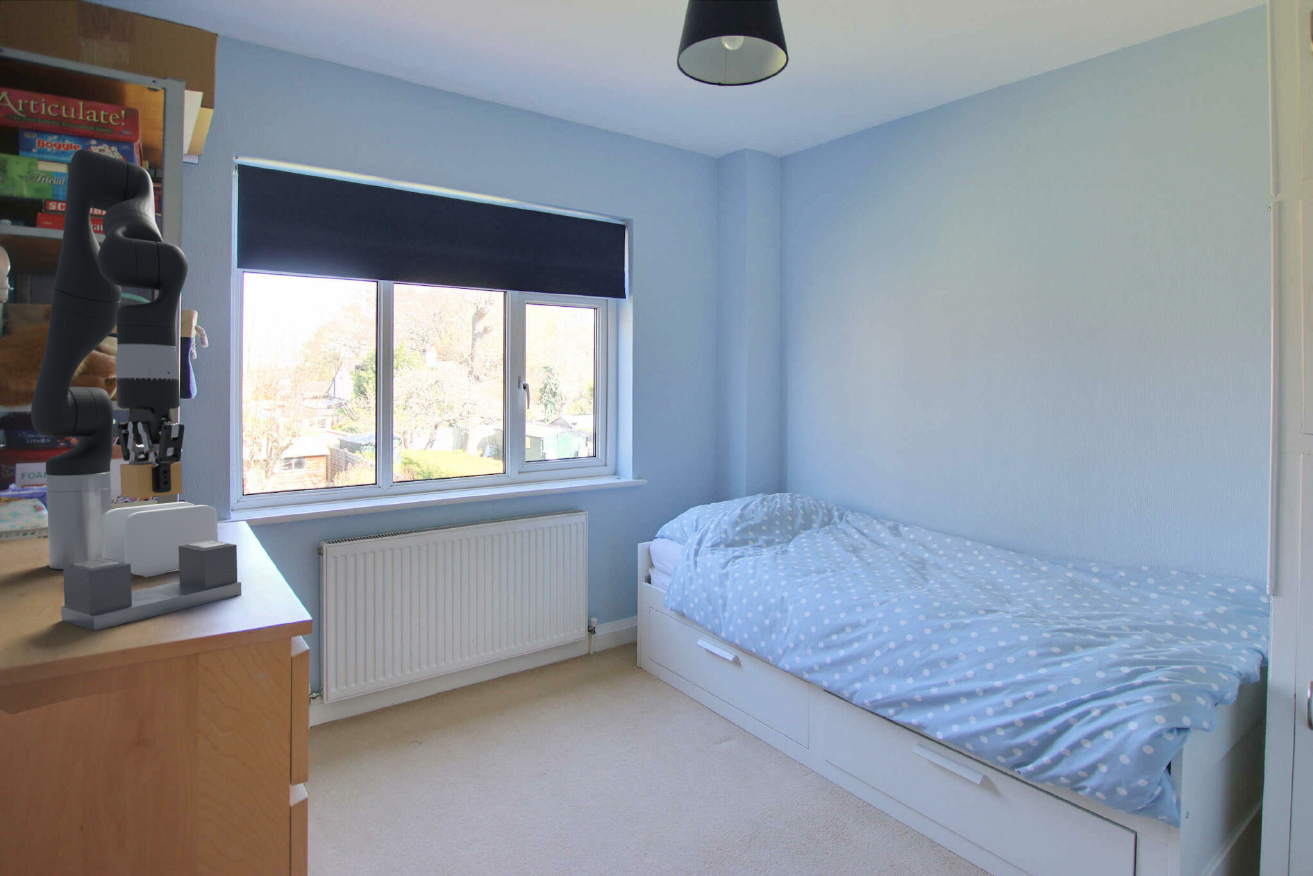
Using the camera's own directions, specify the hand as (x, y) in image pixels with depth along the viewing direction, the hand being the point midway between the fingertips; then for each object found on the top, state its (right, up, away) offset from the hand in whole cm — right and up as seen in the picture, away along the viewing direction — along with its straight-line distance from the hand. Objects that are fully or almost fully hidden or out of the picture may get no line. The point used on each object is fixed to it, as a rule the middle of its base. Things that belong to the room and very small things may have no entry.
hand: (152, 490), depth 103 cm
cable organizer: (-16, -17, +24) cm, 33 cm away
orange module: (0, -1, 0) cm, 1 cm away
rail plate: (0, -18, +1) cm, 18 cm away
